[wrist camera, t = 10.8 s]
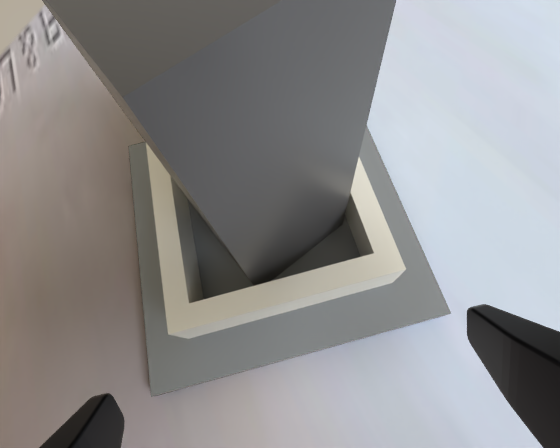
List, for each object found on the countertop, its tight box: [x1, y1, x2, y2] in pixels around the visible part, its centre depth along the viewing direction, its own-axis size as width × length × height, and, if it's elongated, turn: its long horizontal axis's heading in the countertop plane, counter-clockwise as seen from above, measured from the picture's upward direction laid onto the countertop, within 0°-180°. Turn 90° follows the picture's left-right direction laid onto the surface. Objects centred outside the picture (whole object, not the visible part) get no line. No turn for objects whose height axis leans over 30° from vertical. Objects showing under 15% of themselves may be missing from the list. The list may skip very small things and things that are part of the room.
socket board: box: [129, 125, 451, 397], centre depth 17 cm, size 14×14×3 cm
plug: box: [42, 0, 396, 286], centre depth 12 cm, size 6×6×13 cm
